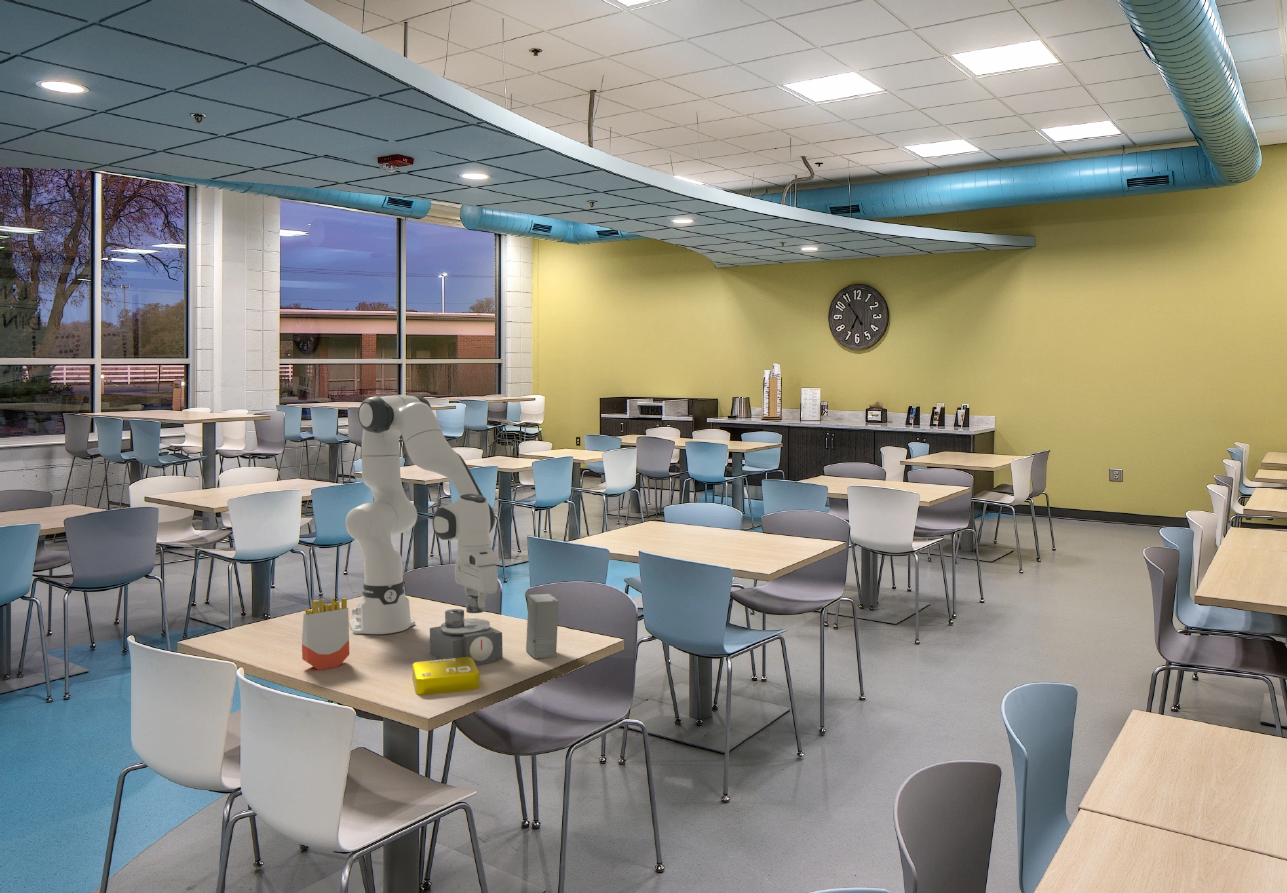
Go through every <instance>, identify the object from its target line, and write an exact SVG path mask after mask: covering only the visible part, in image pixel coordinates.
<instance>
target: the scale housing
mask: <svg viewBox="0 0 1287 893" xmlns="http://www.w3.org/2000/svg"><path fill="white" fill-rule="evenodd" d="M429 652H430V653H429V654H431V655H433V656H434V657H435V658H437V659H438V660H440V659H441V660H442V659H452V658H462V657H470V658H472V659H473V660H474V662H475V664H476V666H480V665H485V664H490V663H491V664H492V663H495V662H496V660H499V659H503V654H504V653H503V632H502V631H501V630H498V629H496V628H494V627H491V626H490V629H489V630H487V631H484V632H478V633H472V634H467V635H450V634H445V633H443V632H442V631H441V625H440V626H434V627H430V628H429Z"/></svg>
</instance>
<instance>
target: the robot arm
mask: <svg viewBox="0 0 1287 893" xmlns="http://www.w3.org/2000/svg"><path fill="white" fill-rule="evenodd" d="M357 413H358V414H357V415H358V421H359V424H360V426H361V427H362V429H363V430H362V436H361V480H362V482H363V484H364V485H365V486H367V487H368V488H369V489H370V492H371V493H372V497H373V502H366V503H362V504H360V505H358V506H355V507H354V508H351V509H350V510H349V511H348V513H347V514H346V516H345V520H344V522H345V530H346V532H347V533H348V535H349V536H350V537H351V538H352V539H353V540H355V541H356V542H357V545H358V546H359V549H360V552H361V555H362V559H363V570H364V571H363V572H364V583H363V584H362V597H361V598H360V600H359V601H358V602H357V604H356V607H353V608H352V609H351V611H352V616H353V617H354V618H350V619H349V627H350V629H351V632H352V633H353V634H355V635H359V634H360V635H361V634H364V635H387V634H388V635H389V634H395V633H399V632H403V631H406V630H407V629H409V628H410V627H412V626H415V625H416V621H415V620H414V619H411V607H410V600H409V598H408V597H407V596H406V595H405V588H406V587H405V586H406V585H405V581H404V580H403V579H404V578H403V558H402V554H401V553H399V552H398V551H397V550H396V549H395V548H394V546H393V543H392V538H391V536H395V535H400V534H402V533H404V532H406V531H408V530H410V529H411V528H413V527H414V526H415V525H416V523H417V520H418V511H417V508H416V506H415V505H414V503H413V502H411V501H410V500H409V498H408V496H407V495H406V492H405V490H404V486H403V483H402V477H401V459H400V457H401V456H400V453H401V452H400V438H401V436H402V440H403V443H404V446H405V448H406V452H407V455H408V457H409V458H410V460H411V462H412V463H413V464H414V465H415V466H416V467H418V468H419V469H422V470H425V471H429V472H433V473H436V474H438V475H440V476H444V477H445V478H447V479H448V480H449V481H451V483H452V484H453V485H454V488H455V489H456V491H457V493H458V494H459V497H458V498H457V500H455V501H454V502H452V503H450V504H447V505H443V506H441V507H438V508H437V509H436V511H435V512H434V514H433V516H432V523H431V524H432V529H433V533H435V535H436V536H437V537H438V538H439V539H440V540H442V541H453V540H457V557H456V559H455V563H454V566H455V567H454V579H455V582H456V584H458V585H459V586H463V587H464V588H463V590H464V593H465V596H466V597H467V596H469V595H474V591H475V592H477V593H476V595H478V600H477V601H476V603H477V607H479V608H482V607H484V606H485V607H486V599H487V596H488V595H491V594H495V593H496V592H497V590H498V582H499V580H498V578H499V577H498V573H499V572H498V566H497V565H498V564H499V561H500V560H499V555H497V554H496V553H495V551H494V550H493V548H492V542H491V539H490V538H491V537H490V533H491V532H492V530H493V529H494V526H495V523H496V514H495V512H494V510H493V508H492V506H491V504H490V503H489V501H488V500H487V498H486V497H485V496H484V495H483V493H482V491H481V489H480V488H479V486H478V484H477V482H476V480H475V478H474V476H473V475H472V472H471V470H470V468H469V467H468V465H467V463H466V461H465V460H464V458H463V457H462V455H460V454H459V453H457V452H456V451H455V449H453V448H452V446H451V444H449V442H448V441H447V439H446V437H445V435H444V432H443V430H442V427H441V425H440V423H439V420H438V418H437V417H436V415H435V413H434V411H433V410H432V406H431V404H430V402H429V400H428V399H427V398H424V397H422V396H419V395H405V394H393V395H385V396H384V395H383V396H378V395H377V396H371V397H367V398H365V399H364V400H362V402H361V403H360V405H359V407H358V412H357ZM355 616H356V617H355Z"/></svg>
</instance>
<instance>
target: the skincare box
mask: <svg viewBox="0 0 1287 893" xmlns="http://www.w3.org/2000/svg"><path fill="white" fill-rule="evenodd" d="M527 596H528V602H527V621H526V622H527V623H526V624H527V626H526V642H525V643H526V644H525V651H526V652H527V653H528V655H530V656H531V657H532V658H534V659H535V660H536V659H537V660H538V659H546V658H554V657H555V658H556V657H557V649H558V648H557V646H558V645H557V644H558V643H557V641H558V624H559V623H558V620H559V619H558V618H559V600H558V599H556V597H555V596H553V595H552V594H551V593H542V594H540V593H539V594H538V593H537V594H536V593H535V594H529V595H527Z"/></svg>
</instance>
